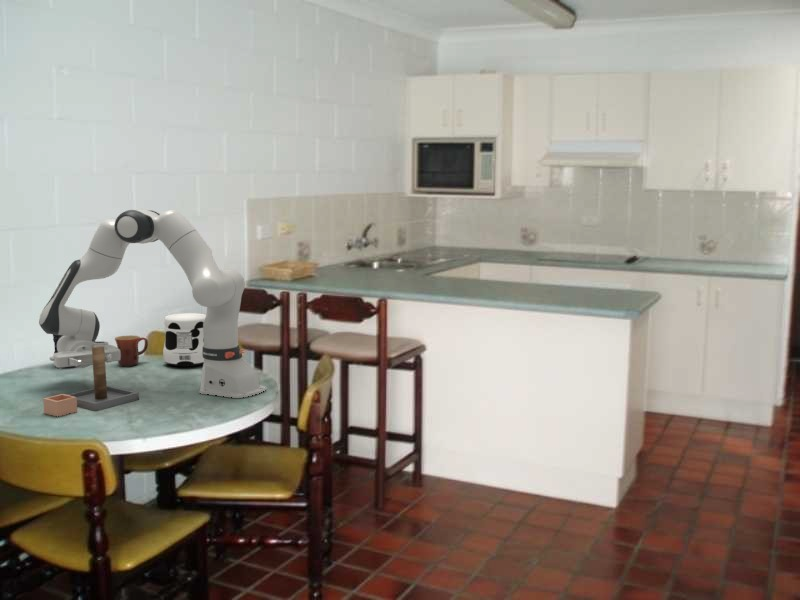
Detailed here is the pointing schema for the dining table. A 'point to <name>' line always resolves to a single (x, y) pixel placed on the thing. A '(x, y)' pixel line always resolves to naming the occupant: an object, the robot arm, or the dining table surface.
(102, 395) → the dowel
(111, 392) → the tray
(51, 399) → the pot
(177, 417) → the dining table surface
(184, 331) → the milk container
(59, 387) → the dining table surface
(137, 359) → the mug
